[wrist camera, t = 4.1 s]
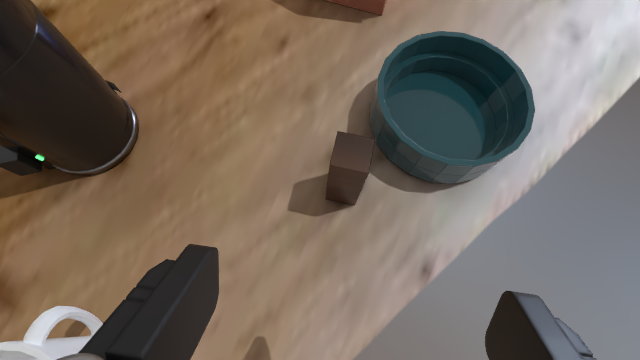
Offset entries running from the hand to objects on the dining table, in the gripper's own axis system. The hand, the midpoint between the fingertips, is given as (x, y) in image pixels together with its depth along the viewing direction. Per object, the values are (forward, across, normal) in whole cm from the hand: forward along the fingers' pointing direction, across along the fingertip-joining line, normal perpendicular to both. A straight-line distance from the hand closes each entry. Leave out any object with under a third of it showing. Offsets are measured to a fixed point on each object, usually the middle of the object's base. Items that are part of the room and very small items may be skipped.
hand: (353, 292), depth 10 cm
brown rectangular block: (+24, 0, +8) cm, 25 cm away
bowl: (+30, -9, +1) cm, 32 cm away
